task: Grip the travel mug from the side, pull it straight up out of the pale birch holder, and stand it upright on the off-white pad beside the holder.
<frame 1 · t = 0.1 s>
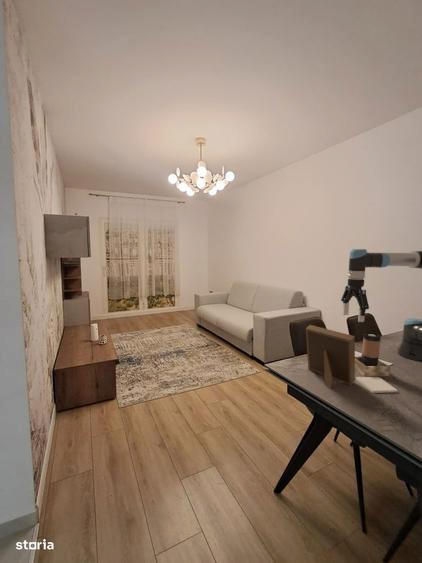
hand: (352, 318, 137), 28 cm above the table, tool pointing down, fingers open, 13 cm apart
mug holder: (368, 370, 138), on the table
pad: (375, 385, 122), on the table
photo frame: (325, 379, 128), on the table
travel mug: (368, 370, 138), resting in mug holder
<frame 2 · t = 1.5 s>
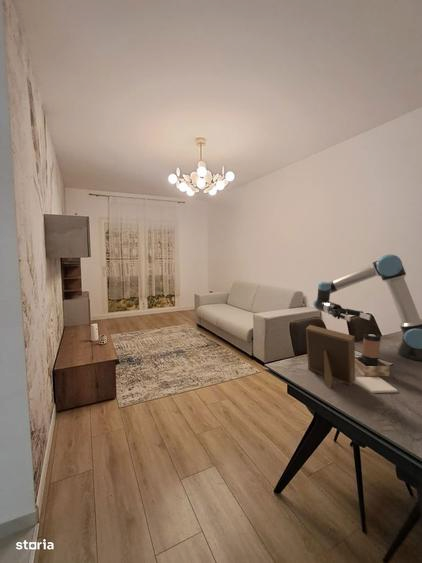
hand: (359, 318, 143), 26 cm above the table, tool horizontal, fingers open, 13 cm apart
nothing on the table moved.
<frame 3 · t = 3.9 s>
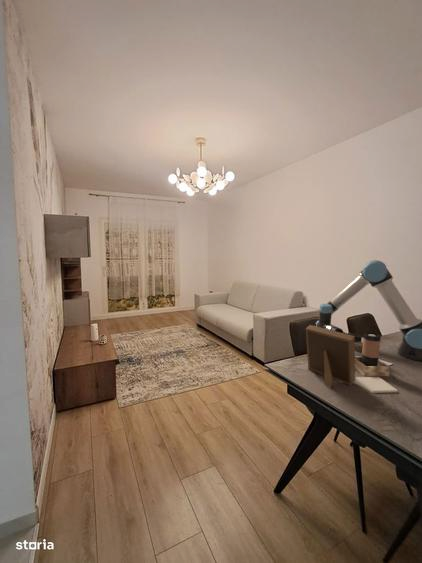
hand: (360, 344, 142), 12 cm above the table, tool horizontal, fingers open, 13 cm apart
nothing on the table moved.
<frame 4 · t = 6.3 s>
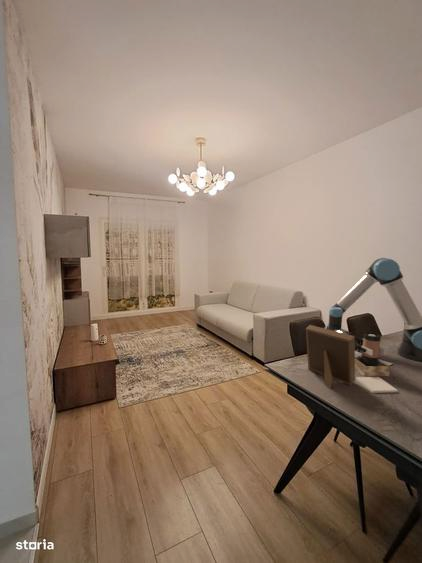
hand: (378, 352, 131), 12 cm above the table, tool horizontal, fingers closed on travel mug, 7 cm apart
travel mug: (368, 370, 138), resting in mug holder, touching gripper
everything else where it was.
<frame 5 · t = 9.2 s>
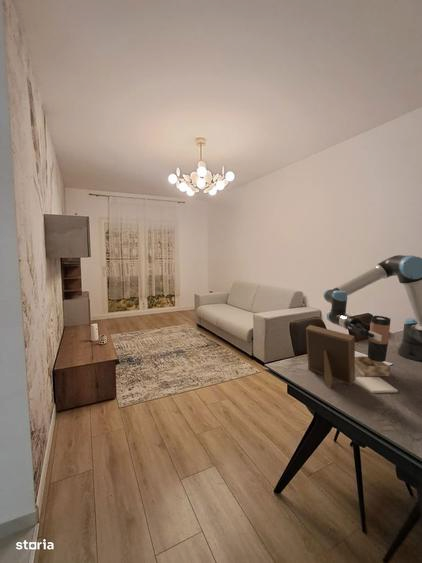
hand: (388, 338, 115), 25 cm above the table, tool horizontal, fingers closed on travel mug, 7 cm apart
travel mug: (376, 359, 121), point 13 cm above the table, touching gripper
everything else where it was.
when the fingers open (14 cm above the table, at t = 12.2 s): travel mug drops 1 cm, resting on pad.
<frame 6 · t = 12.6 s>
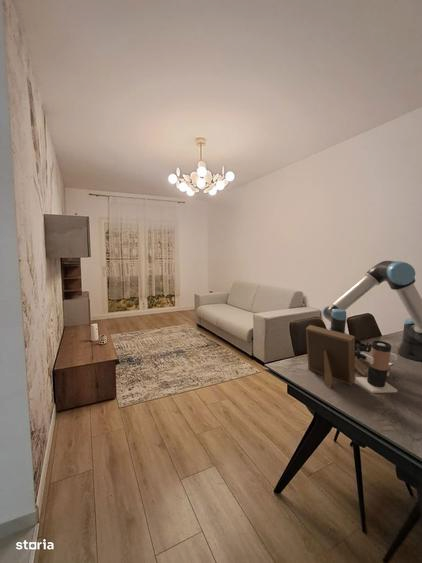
hand: (385, 359, 117), 14 cm above the table, tool horizontal, fingers open, 13 cm apart
travel mug: (375, 383, 122), point 1 cm above the table, touching pad
everything else where it was.
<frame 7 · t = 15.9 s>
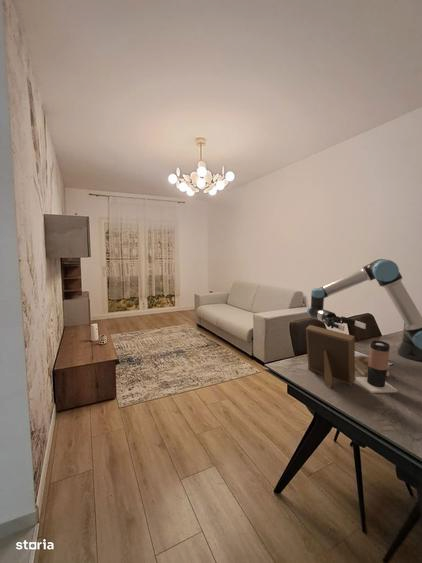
hand: (354, 327, 135), 24 cm above the table, tool horizontal, fingers open, 13 cm apart
nothing on the table moved.
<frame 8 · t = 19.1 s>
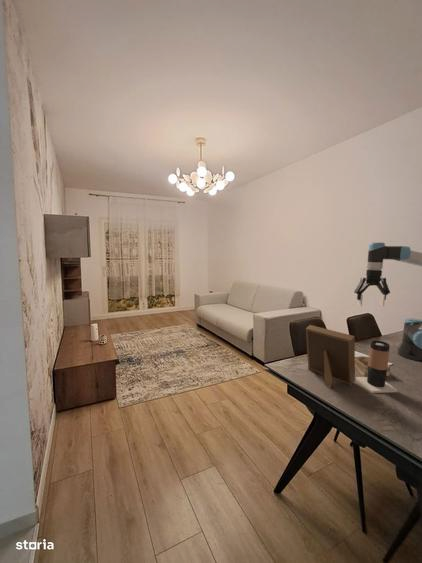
hand: (370, 305, 151), 32 cm above the table, tool pointing down, fingers open, 13 cm apart
nothing on the table moved.
at the end: travel mug inside the target area on the pad (0.0 cm from its centre), point 0.8 cm above the pad's base; travel mug tilted 0°; the gripper is holding nothing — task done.
